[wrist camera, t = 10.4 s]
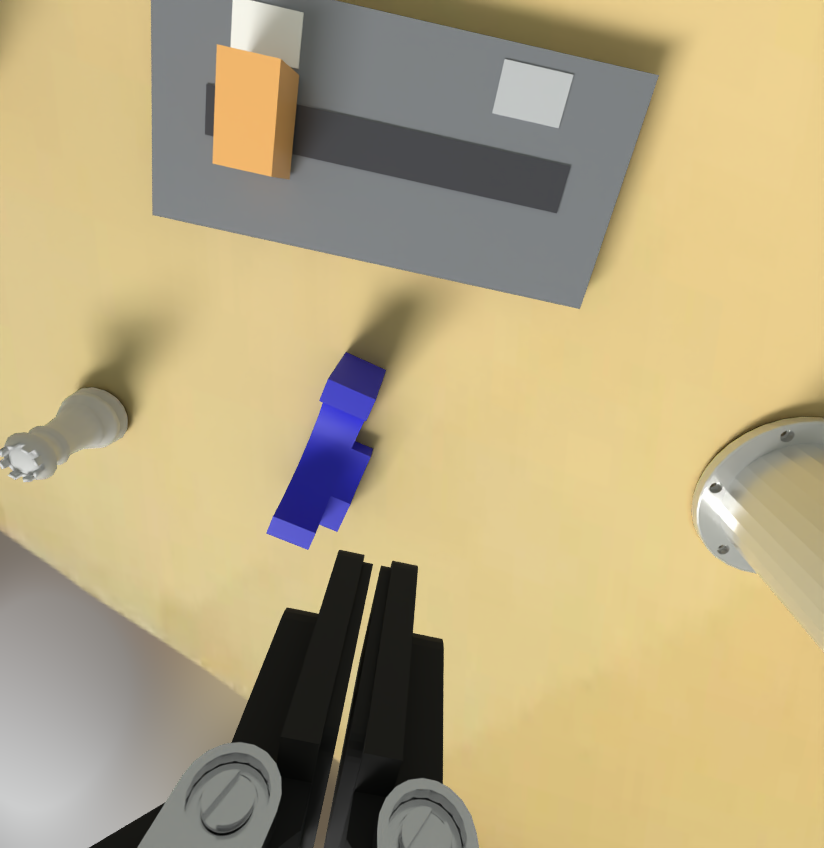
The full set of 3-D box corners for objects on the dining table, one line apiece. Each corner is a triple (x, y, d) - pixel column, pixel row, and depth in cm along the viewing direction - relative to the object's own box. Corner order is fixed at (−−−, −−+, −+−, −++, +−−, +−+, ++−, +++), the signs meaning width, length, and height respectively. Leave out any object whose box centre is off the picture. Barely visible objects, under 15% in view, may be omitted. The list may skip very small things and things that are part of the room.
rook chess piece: (94, 372, 36) (5, 415, 29) (143, 417, 37) (69, 468, 30) (60, 409, 38) (-33, 458, 30) (109, 451, 39) (30, 508, 31)
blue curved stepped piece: (344, 509, 40) (328, 557, 34) (291, 487, 39) (266, 533, 34) (406, 377, 35) (399, 410, 30) (346, 351, 35) (328, 378, 29)
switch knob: (299, 74, 26) (280, 58, 23) (289, 179, 28) (271, 176, 25) (242, 62, 26) (216, 44, 23) (236, 167, 28) (212, 163, 25)
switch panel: (644, 84, 27) (659, 74, 25) (572, 302, 32) (580, 309, 30) (171, -26, 27) (149, -44, 25) (169, 214, 32) (151, 214, 30)
